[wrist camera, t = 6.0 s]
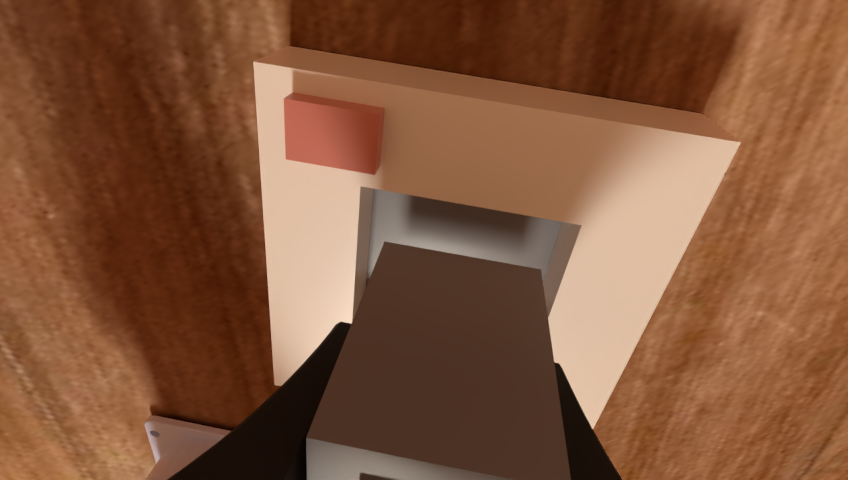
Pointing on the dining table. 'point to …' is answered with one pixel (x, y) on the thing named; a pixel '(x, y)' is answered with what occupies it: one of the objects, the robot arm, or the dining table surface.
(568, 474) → the plug
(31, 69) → the dining table surface
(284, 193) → the socket
